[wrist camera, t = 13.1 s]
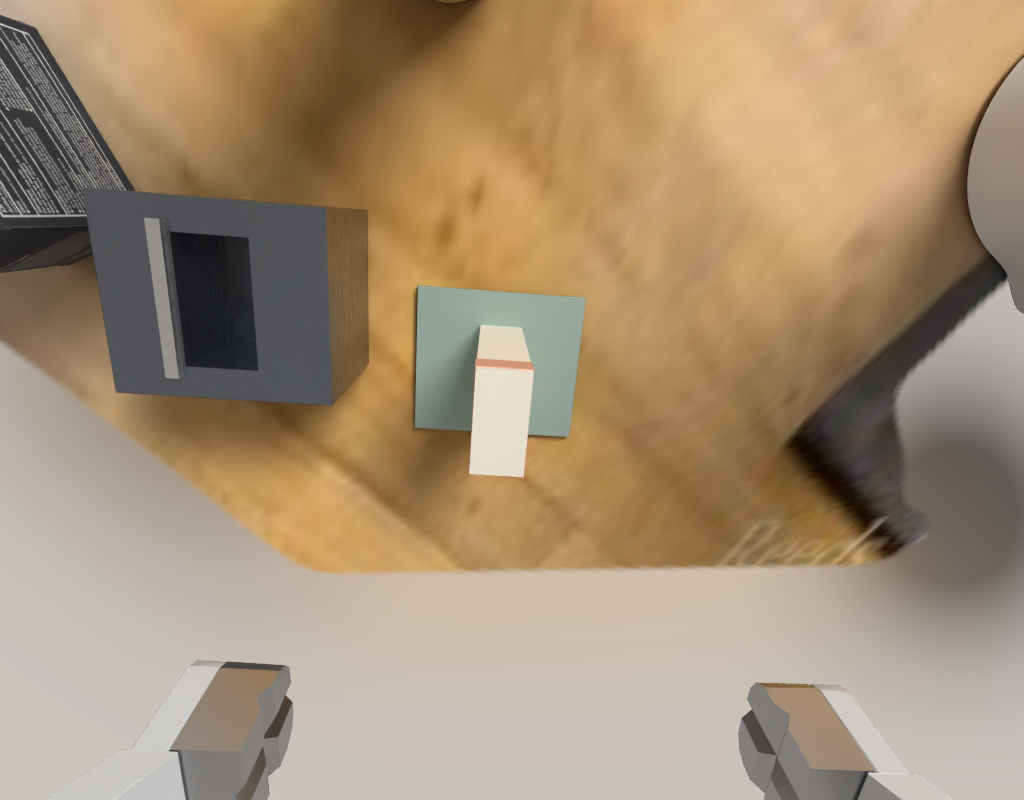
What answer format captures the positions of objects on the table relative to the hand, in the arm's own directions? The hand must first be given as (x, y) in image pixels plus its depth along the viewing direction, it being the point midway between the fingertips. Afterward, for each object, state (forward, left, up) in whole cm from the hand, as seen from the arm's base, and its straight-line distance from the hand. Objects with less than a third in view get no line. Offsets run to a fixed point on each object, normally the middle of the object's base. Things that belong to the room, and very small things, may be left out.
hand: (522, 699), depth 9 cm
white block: (0, +1, -25) cm, 25 cm away
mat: (0, +1, -25) cm, 25 cm away
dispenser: (+13, -3, -25) cm, 29 cm away
